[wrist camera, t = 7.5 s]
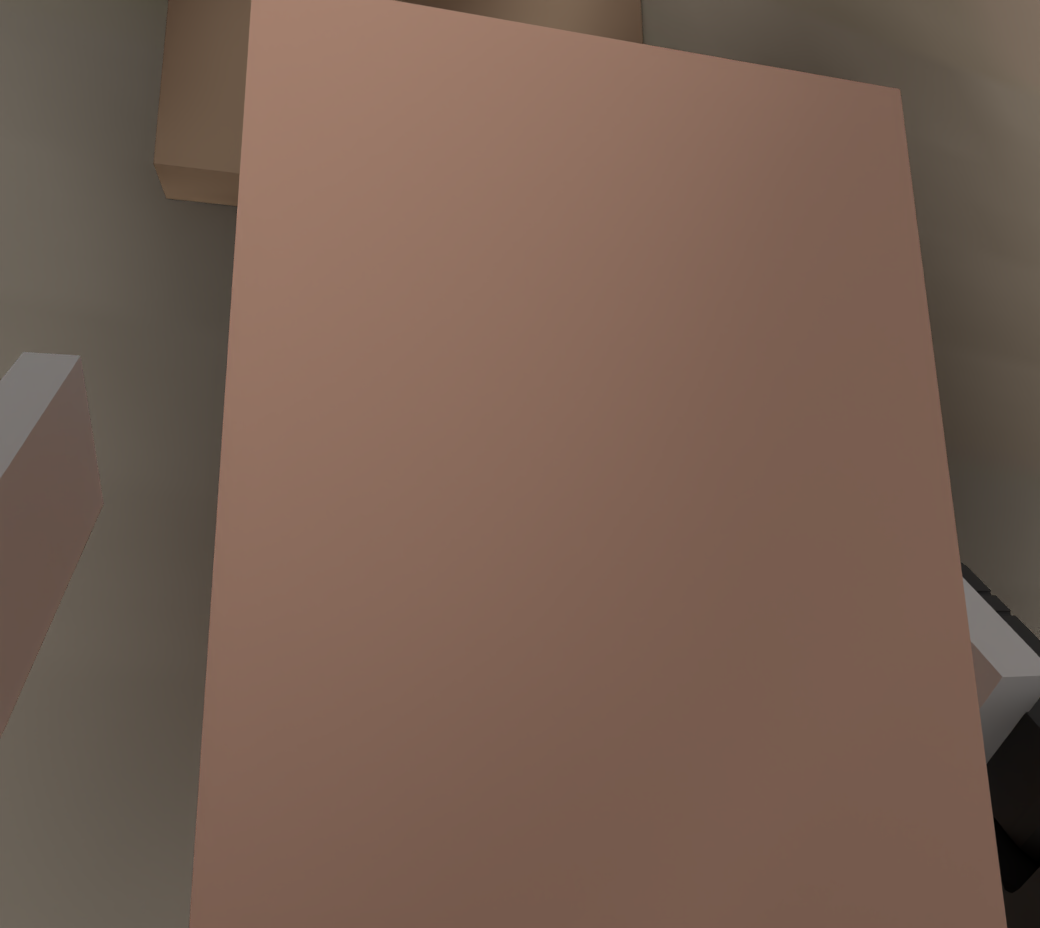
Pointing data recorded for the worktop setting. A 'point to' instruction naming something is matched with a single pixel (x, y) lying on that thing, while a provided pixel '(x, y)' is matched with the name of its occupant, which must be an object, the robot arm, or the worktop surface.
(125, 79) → the worktop surface
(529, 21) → the book rack
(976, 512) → the worktop surface
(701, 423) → the terracotta book
